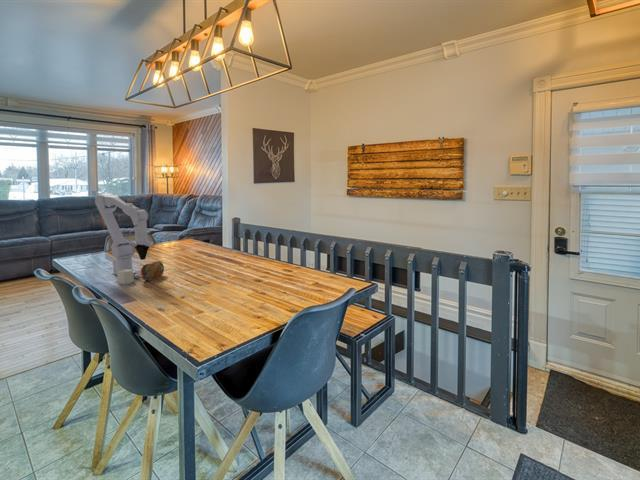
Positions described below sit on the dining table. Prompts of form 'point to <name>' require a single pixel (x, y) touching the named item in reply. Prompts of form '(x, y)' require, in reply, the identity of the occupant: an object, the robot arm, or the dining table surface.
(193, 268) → the dining table surface
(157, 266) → the tin
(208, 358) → the dining table surface
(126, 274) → the grey block
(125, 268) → the robot arm
